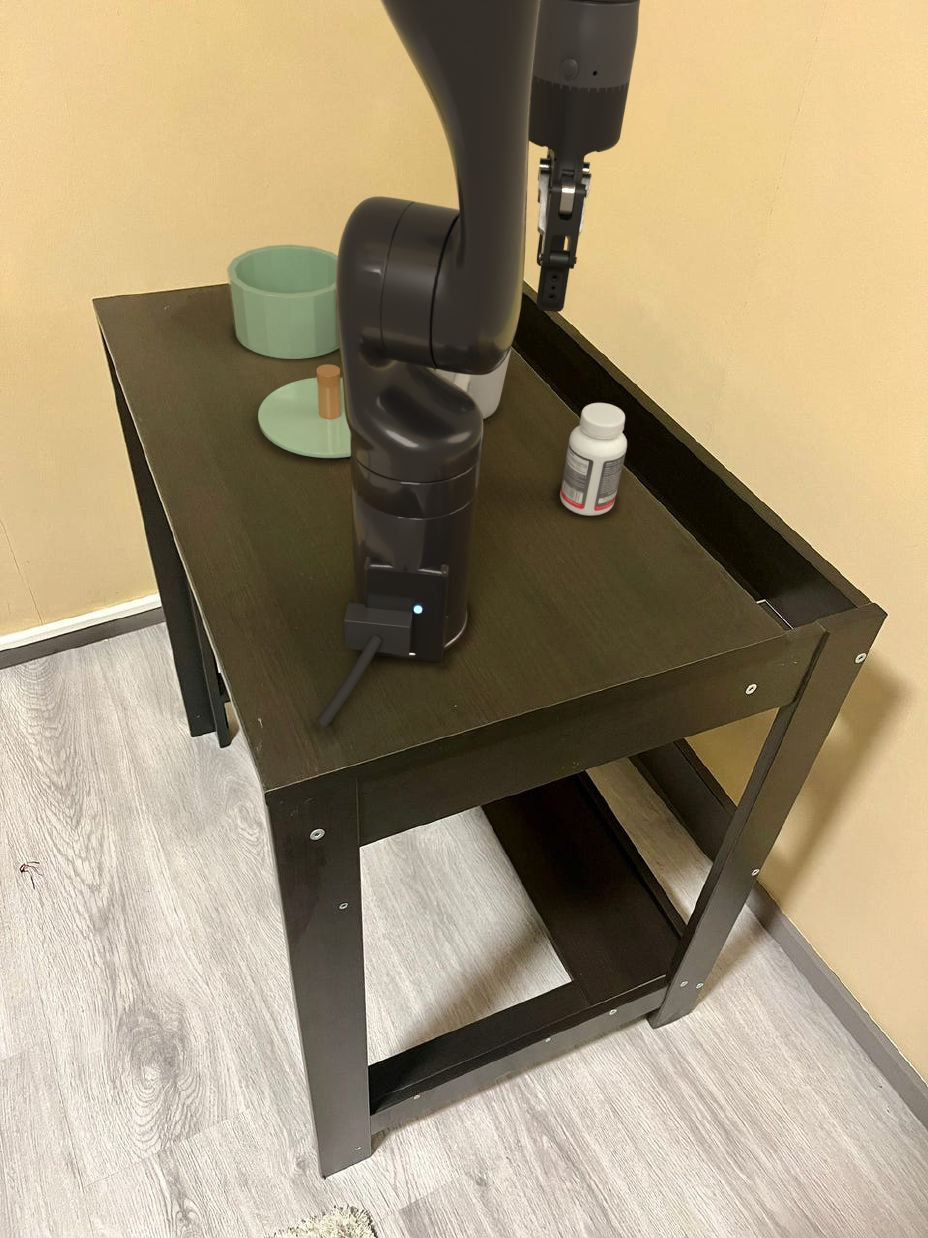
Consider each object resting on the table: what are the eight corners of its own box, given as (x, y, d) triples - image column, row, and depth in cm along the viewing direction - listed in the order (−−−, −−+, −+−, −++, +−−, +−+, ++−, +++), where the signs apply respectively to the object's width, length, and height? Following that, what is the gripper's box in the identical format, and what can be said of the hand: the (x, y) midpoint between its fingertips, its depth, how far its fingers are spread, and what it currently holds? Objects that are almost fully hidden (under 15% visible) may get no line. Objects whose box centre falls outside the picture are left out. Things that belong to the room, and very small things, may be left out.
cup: (492, 449, 94) (499, 380, 88) (417, 436, 95) (420, 367, 89) (509, 396, 101) (517, 330, 96) (440, 385, 102) (443, 318, 97)
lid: (390, 470, 90) (391, 417, 86) (242, 454, 90) (236, 401, 86) (409, 393, 101) (410, 342, 96) (277, 379, 101) (272, 328, 96)
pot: (340, 364, 104) (338, 302, 99) (221, 352, 104) (213, 289, 99) (359, 310, 114) (358, 250, 108) (251, 299, 114) (245, 239, 109)
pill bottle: (609, 485, 91) (628, 399, 84) (617, 518, 87) (638, 431, 80) (556, 483, 90) (570, 396, 83) (562, 516, 86) (578, 429, 80)
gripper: (638, 100, 60) (596, 330, 71) (624, 47, 70) (589, 255, 81) (525, 90, 60) (502, 321, 71) (527, 38, 70) (506, 248, 81)
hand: (548, 286), depth 76 cm, fingers open, 8 cm apart
